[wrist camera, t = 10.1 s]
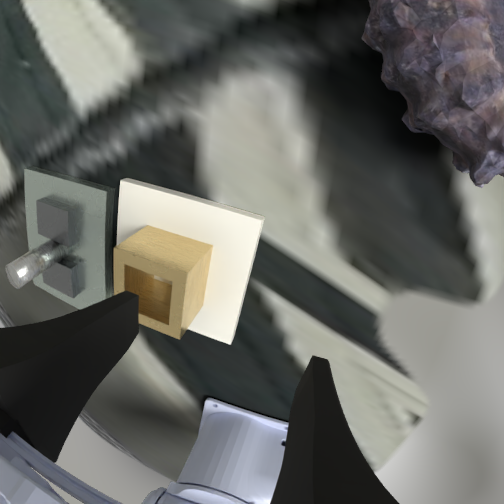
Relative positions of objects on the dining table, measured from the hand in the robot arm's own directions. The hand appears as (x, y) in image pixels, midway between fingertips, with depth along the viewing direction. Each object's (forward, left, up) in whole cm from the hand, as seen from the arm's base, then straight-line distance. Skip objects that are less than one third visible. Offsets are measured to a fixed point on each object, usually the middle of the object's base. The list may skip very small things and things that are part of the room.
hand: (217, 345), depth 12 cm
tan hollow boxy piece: (+6, +3, -9) cm, 11 cm away
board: (+6, +3, -9) cm, 11 cm away
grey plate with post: (+17, +5, -9) cm, 20 cm away
